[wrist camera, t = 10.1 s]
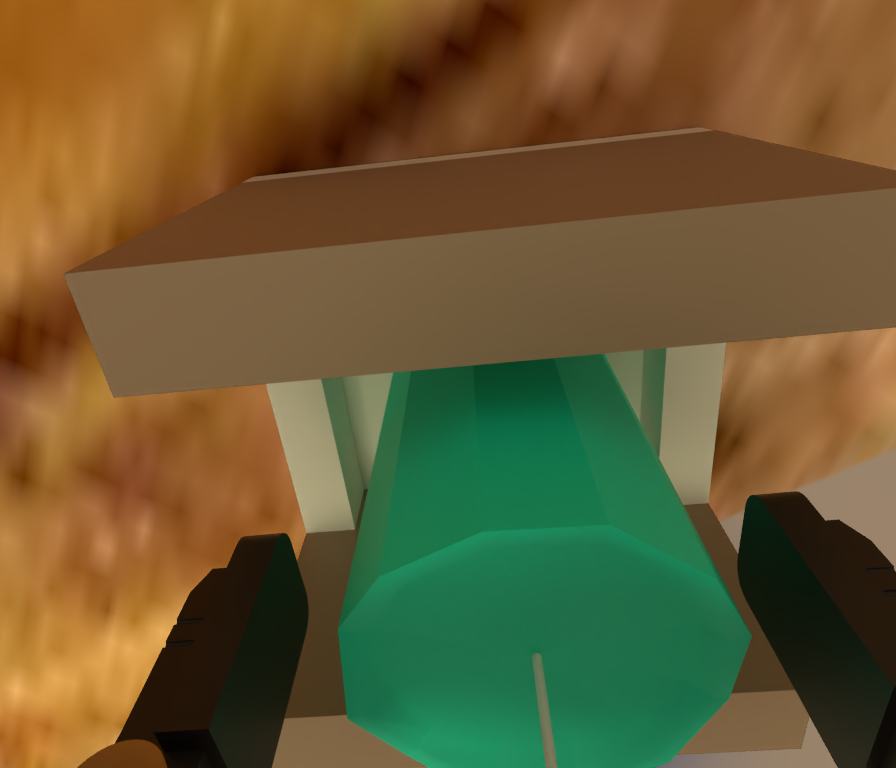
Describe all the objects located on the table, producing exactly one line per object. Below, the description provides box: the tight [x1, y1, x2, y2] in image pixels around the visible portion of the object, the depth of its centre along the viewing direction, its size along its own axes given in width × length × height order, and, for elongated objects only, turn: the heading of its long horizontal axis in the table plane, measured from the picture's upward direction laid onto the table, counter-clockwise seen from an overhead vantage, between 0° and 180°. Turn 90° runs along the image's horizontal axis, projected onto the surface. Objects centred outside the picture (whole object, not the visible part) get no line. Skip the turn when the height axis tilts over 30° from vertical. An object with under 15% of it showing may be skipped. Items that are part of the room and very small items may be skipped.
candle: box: [338, 354, 752, 768], centre depth 13 cm, size 6×6×12 cm
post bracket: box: [64, 127, 896, 768], centre depth 15 cm, size 12×12×9 cm
